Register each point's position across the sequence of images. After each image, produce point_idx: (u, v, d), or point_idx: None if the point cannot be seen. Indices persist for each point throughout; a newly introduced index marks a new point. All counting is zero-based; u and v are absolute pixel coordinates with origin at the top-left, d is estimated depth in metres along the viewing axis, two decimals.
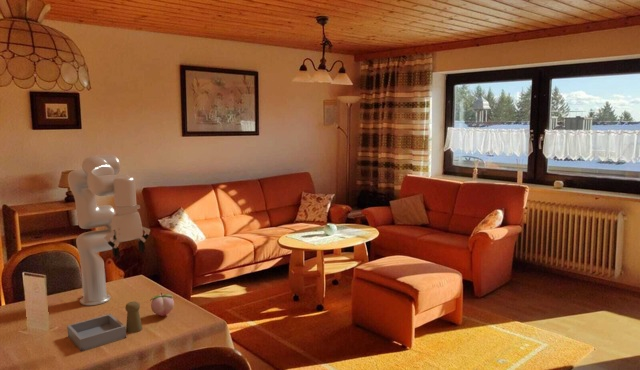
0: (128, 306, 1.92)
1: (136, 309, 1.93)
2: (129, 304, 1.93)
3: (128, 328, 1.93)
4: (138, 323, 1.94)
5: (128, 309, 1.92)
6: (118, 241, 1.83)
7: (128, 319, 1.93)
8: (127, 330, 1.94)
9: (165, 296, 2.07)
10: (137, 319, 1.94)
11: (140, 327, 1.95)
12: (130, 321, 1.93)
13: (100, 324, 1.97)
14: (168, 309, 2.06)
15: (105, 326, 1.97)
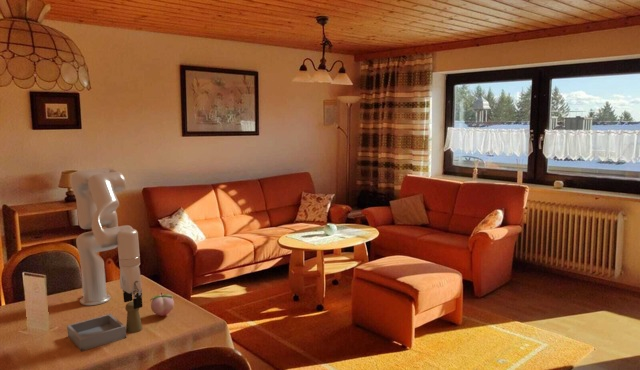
0: (128, 306, 1.92)
1: (136, 309, 1.93)
2: (129, 304, 1.93)
3: (128, 328, 1.93)
4: (138, 323, 1.94)
5: (128, 309, 1.92)
6: None
7: (128, 319, 1.93)
8: (127, 330, 1.94)
9: (165, 296, 2.07)
10: (137, 319, 1.94)
11: (140, 327, 1.95)
12: (130, 321, 1.93)
13: (100, 324, 1.97)
14: (168, 309, 2.06)
15: (105, 326, 1.97)
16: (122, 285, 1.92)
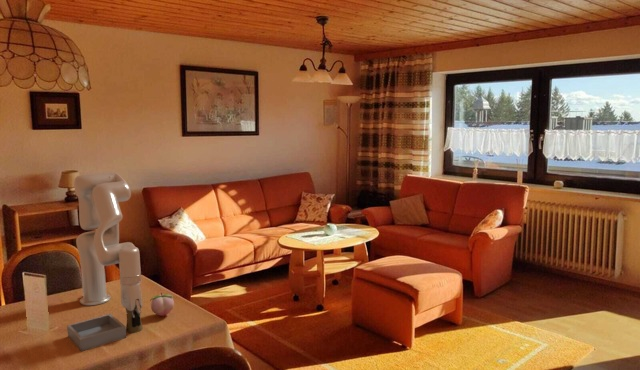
0: None
1: None
2: None
3: (128, 328, 1.93)
4: None
5: None
6: None
7: (128, 319, 1.93)
8: (127, 330, 1.94)
9: (165, 296, 2.07)
10: None
11: (140, 327, 1.95)
12: (130, 321, 1.93)
13: (100, 324, 1.97)
14: (168, 309, 2.06)
15: (105, 326, 1.97)
16: (123, 302, 1.94)
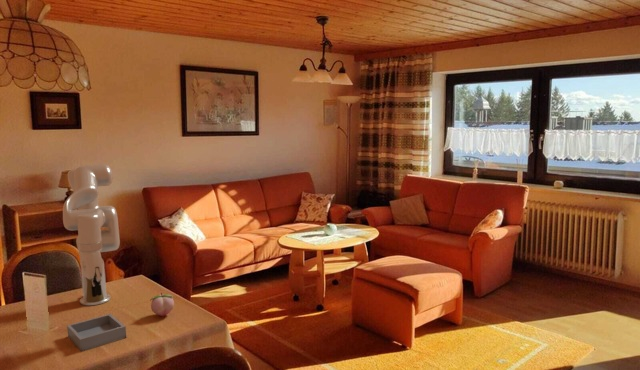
0: None
1: None
2: None
3: (88, 298, 1.85)
4: None
5: None
6: None
7: (88, 288, 1.85)
8: (87, 300, 1.85)
9: (165, 296, 2.07)
10: None
11: (101, 297, 1.87)
12: (90, 290, 1.85)
13: (100, 324, 1.97)
14: (168, 309, 2.06)
15: (105, 326, 1.97)
16: (83, 271, 1.85)
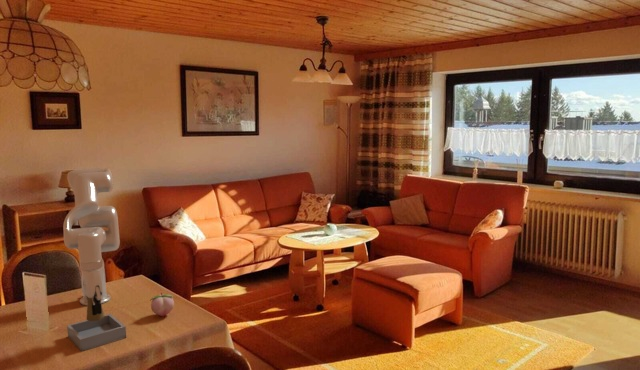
0: None
1: None
2: None
3: (88, 316, 1.86)
4: None
5: None
6: None
7: (88, 307, 1.86)
8: (87, 318, 1.86)
9: (165, 296, 2.07)
10: None
11: (101, 315, 1.88)
12: (90, 308, 1.85)
13: (100, 324, 1.97)
14: (168, 309, 2.06)
15: (105, 326, 1.97)
16: (83, 289, 1.86)
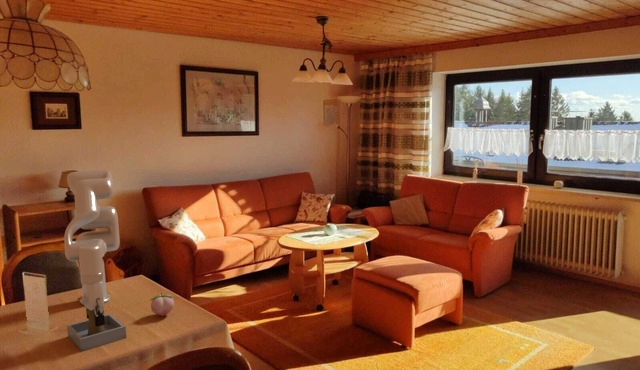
0: (89, 310, 1.86)
1: None
2: None
3: (89, 333, 1.87)
4: (100, 328, 1.88)
5: (89, 313, 1.86)
6: None
7: (89, 323, 1.87)
8: (88, 335, 1.88)
9: (165, 296, 2.07)
10: None
11: None
12: (91, 325, 1.87)
13: None
14: (168, 309, 2.06)
15: (105, 326, 1.97)
16: (84, 301, 1.87)
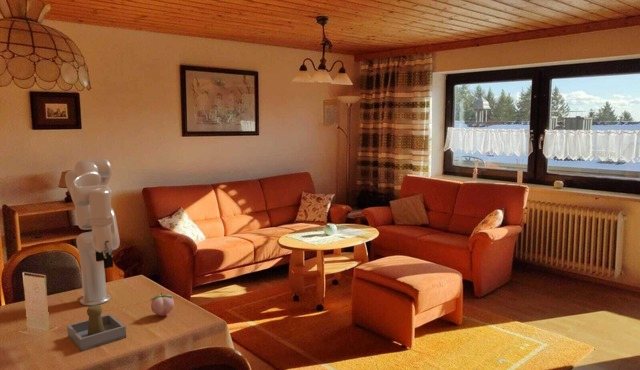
0: (89, 310, 1.86)
1: (98, 313, 1.87)
2: (90, 308, 1.87)
3: (89, 333, 1.87)
4: (100, 328, 1.88)
5: (89, 313, 1.86)
6: None
7: (89, 323, 1.87)
8: (88, 335, 1.88)
9: (165, 296, 2.07)
10: (99, 323, 1.88)
11: None
12: (91, 325, 1.87)
13: None
14: (168, 309, 2.06)
15: (105, 326, 1.97)
16: (94, 244, 1.93)
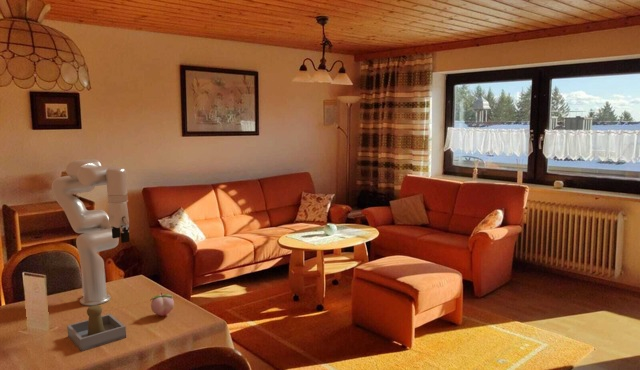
0: (89, 310, 1.86)
1: (98, 313, 1.87)
2: (90, 308, 1.87)
3: (89, 333, 1.87)
4: (100, 328, 1.88)
5: (89, 313, 1.86)
6: None
7: (89, 323, 1.87)
8: (88, 335, 1.88)
9: (165, 296, 2.07)
10: (99, 323, 1.88)
11: None
12: (91, 325, 1.87)
13: None
14: (168, 309, 2.06)
15: (105, 326, 1.97)
16: (110, 221, 2.03)
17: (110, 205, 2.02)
